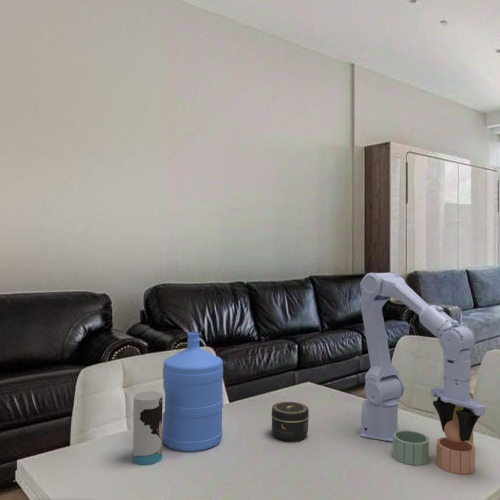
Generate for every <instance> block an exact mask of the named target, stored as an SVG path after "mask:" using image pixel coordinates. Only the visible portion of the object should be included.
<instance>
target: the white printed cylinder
mask: <svg viewBox="0 0 500 500" xmlns="http://www.w3.org/2000/svg"><path fill="white" fill-rule="evenodd" d="M163 399H164V398H163V393H161V392H158V391H151V390H150V391H141V392H138V393H136V394H134V396H133V416H132V417H133V420H132V421H133V430H132V431H133V435H132V437H133V438H132V440H133V441H132V443H133V445H132V448H133V449H132V461H133V463H135V464H137V465H141V466H150V465H154V464H156V463H159V462H161V460H162V458H163V440H162V431H163V402H164V401H163Z"/></svg>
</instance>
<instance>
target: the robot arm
mask: <svg viewBox="0 0 500 500" xmlns="http://www.w3.org/2000/svg"><path fill="white" fill-rule="evenodd" d="M359 285H360V286H359V287H360V293H361V298H360V308H361V316H362V321H363V328H364V334H365V340H366V345H367V351H368V356H369V358H368V359H369V364H370V368H369V369H368V371H367V372H366V374H365V376H364V380H365V383H364V384H365V385H364V395H365V397H366V399H363V401H362V404H361V405H362V406H361V411H360V412H361V414H360V417H361V419H360V421H361V422H360V437H363V438H369V439H373V440H380V441H385V442H386V441H387V442H391V443H393V434H394V432H396V431H400V429H398V424H399V423H398V419H399V417H398V414H399V403H400V398H402V397H403V396H404V393H405V386H404V383H403V381H402V379H401V377H400V373H399V371H398V369H396V368H395V367H394V366H393V365H392V361H391V360H392V359H391V355H390V348H389V344H388V338H387V337H388V336H387V331H386V327H385V321H384V316H383V315H384V314H383V307H384V305H385V304H386V303H387V301H389V300H390V299H392V298H395V299H398V300H399V301H400V302H401V303H402V304H403V305H405V306H407V308H409V309H410V310H411V311H413V312H414V313H416V314H417V315H418V319H419V320H418V321H419V323H420V324H421V325H422V326H423V327H425V328H426V329H427V330H428V331H429V332H430V333H431V334H433V335H434V336H435V337H436V338H437V339H438V342H439V345H440V348H441V349H442V356H443V388H440V387H432V388H431V390H430V392H431V393H430V394H431V395H430V396H431V397H433V398H437V399H436V400H433V401H432V405H433V406H434V408H435V409H436V413H437V415H438V417H439V421H440V426H441V430H442V432H443V433H445V432H444V427H445V425H446V423H447V422H449V421H451V420H453V414H454V409H455V406H456V405H457V406H459V407H462V408H463V410H457V411H456V414H457V417H458V421H459V427H460V440H461V441H469V440H470V437H471V433H472V430H473V431H474V427H475V425H476V423H477V421H478V420H479V419H480V417H481V416H485V414H486V413H485V411H486V406H485V405H484V404H480V403H479V402H478V401H476V400H475V399H474V398H473V399H472V398H470V392H471V365H472V364H471V362H472V361H471V360H472V358H471V357H472V349H473V348H474V347H475V345H476V343H477V337H476V334H475V332H474V331H473V330H472V328H471V327H470V326H468V325H466V324H459V322H458V320H456V319H453V318H452V317H451V316H449V314H447V313H446V312H445V310H444V308H443V307H442V306H438V305H435V304H432V305H429V304H428V303H427V302H426V301H425V300H424V299H423V298H422V297H421V296H419V295H418V294H417V293H416V292H415V291H414V290H413V289H412V288H411V287H410V286H409V285H408V284H407V283H406V281H405V278H403V277H401V276H400V275H399V274H398V273H397V272H393V271H388V272H368V273H366V274H365V275H364V276H363V278H362V279H361V281H360V282H359Z"/></svg>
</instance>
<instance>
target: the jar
mask: <svg viewBox="0 0 500 500" xmlns="http://www.w3.org/2000/svg"><path fill="white" fill-rule="evenodd" d="M309 410H310V409H309V407H308V406H307V405H305V404H304V403H300V402H296V401H281V402H277V403H274V404H273V406H272V407H271V430H272V435H273V436H274V438H276V439H277V440H280V441H282V442H288V443H290V442H291V443H292V442H293V443H294V442H296V443H297V442H300V441H302V440H305V439H306V437H307V435H308V432H309V417H310V415H309V414H310V413H309Z"/></svg>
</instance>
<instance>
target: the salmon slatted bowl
mask: <svg viewBox="0 0 500 500" xmlns="http://www.w3.org/2000/svg"><path fill="white" fill-rule="evenodd" d="M435 452H436V456H435V457H436V459H435V460H436V461H435V463H436V465H437V466H438V468H440V469H441V470H443V471H446V472H448V473H449V472H450V473H452V474H457V475H466V474H467V475H470V474H471V473H473V472H475V471H476V470H475V469H476V468H475V467H476V463H475V462H476V461H475V460H476V454H475V453H476V446H475V444H474V443H473V444H472V443H470V442H468V441H462V442H460V443H455V442H452V441H450V440H449V439H448V438H447V437H446V436H445V437H440V438H437V439H436V451H435Z"/></svg>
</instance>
